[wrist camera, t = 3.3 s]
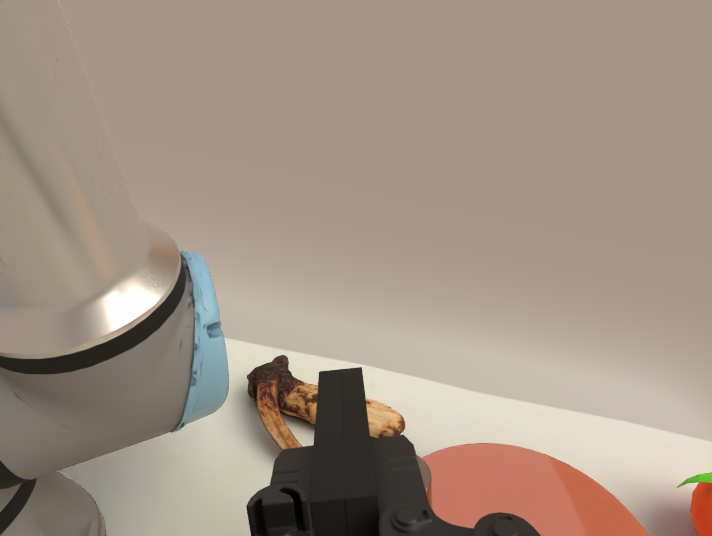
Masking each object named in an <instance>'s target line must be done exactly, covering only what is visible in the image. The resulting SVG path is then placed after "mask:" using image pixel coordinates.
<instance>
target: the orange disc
mask: <svg viewBox="0 0 712 536" xmlns="http://www.w3.org/2000/svg"><path fill="white" fill-rule="evenodd" d="M416 458H417V461H418V464H419V468H420V472H421V475H422V479H423V483H424V486H425V490H426V494H427V497H428V501H429V505H430V507H431V509H432V510H433V511H434V513H435V514H436V515H437V516H438V517H439V518H441V519H442V520H443V521H446V522H448V523H450V524H453V525H457V526H461V527H468V528H474V527H475V524H476V523H477V522H478V520H479V519H480V518H482V517H484V516H486V515H487V514H491V513H498V512H503V513H510V514H514V515H516V516H518V517H521V518H523V519H525V520H526V521H527V522H528V523H529V524H531V525H532V526H533V527H534V528H535V529H536V530H537V532H538V533H539V534H540V535H541V536H649V535H648V534H647V532H646V531H645V529H644V528H643V527H642V526H641V524H640V523H639V522H638V521H637V520H636V519H635V517H634V516H633V515H632V514H631V513H630V511H629V510H628V509H627V508H626V507H625V506H623V505H622V504H621V503H620V502H619V501H618V500H617V499H616V498H615V497H614V496H613V495H612V494H611V493H609V492H608V491H607V490H606V489H605V488H603V487H602V486H601V485H600V484H598V483H597V482H596V481H594V480H593V479H591V478H590V477H588V476H587V475H585V474H584V473H582V472H581V471H579V470H577V469H575V468H573V467H571V466H570V465H568V464H566V463H564V462H562V461H560V460H557V459H555V458H553V457H550V456H548V455H545V454H542V453H539V452H536V451H533V450H530V449H526V448H522V447H517V446H512V445H505V444H494V443H476V444H465V445H459V446H453V447H449V448H446V449H443V450H439V451H436V452H434V453H432V454H429V455H427V456H425V457H423V458H420V457H418V456H416Z"/></svg>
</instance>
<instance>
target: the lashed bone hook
mask: <svg viewBox="0 0 712 536" xmlns="http://www.w3.org/2000/svg"><path fill="white" fill-rule="evenodd" d="M288 364H289V362H288V358H287V357H286V356H285V355H281V356H278V357H276V358H275V359H274V360H273V361H272V362H270V363H267V364H264V365H262V366H259V367H256V368H255V369H254V370H253V371H252V372H251V373H250V374H249V375H247V379H248V380H249V383H248V394H249V396H250V397H251V398H252V399H254V401H255V402H257V406H258V411H259V415H260V418H261V420H262V422H263V425H264V426H265V428H266V430H267V431H268V433H269V434H270V436H271V437H272V439H273V440H274V441H275V442H276V444H277V445H278V446H279V447H280V448H281V449H282V451H283V450H284V449H287V448H296V447H302V446H301V444H300V443H299V442H298V441H297V440H296V438H295V437H294V435H293V434H292V433H291V431H290V430H289V428H288V427H287V425H286V424H285V422H284V420H283V418H282V416H281V414H280V411H279V410H281V411H282V412H284V413H285V414H287V415H292V416H296V417H299V418H302V419H304V420H307V421H310V422H311V423H312V424H315V422H316V408H317V395H318V385H312V384H308V383H305V382H302V381H301V380H298V379H296V378H294V377H293V376H292V374H291V372H290V371H289V370H288ZM365 399H366V398H365ZM366 407H367V415H368V423H369V431H370V436H371V437H375V438H380V437H383V436H386V437H389V436H399V435H400V434H401V433H402V432H403V431H404V429H405V421H404V419H403V417H402V416H401V415H400V414H399V413H398V412H397V411H395V410H392V409H391V407H388V406H386V405H384V404H382V403H379V402H377V401H373V400H370V399H366Z"/></svg>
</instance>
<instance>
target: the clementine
mask: <svg viewBox="0 0 712 536" xmlns="http://www.w3.org/2000/svg"><path fill="white" fill-rule="evenodd" d="M694 482H699V484H698V485H697V487H696V488H695V490H694V491H693V495H692V503H691V516H692V520H693V523H694V526H695V529H696V532H697V534H698V535H699V536H712V472H711V473H705V474H699V475H696V476H694V477H691V478H689V479H687V480H685V481H684V482H683V483H682V484H680V485H679V486H678V487H680V486H682V485H685V484H687V483H694ZM678 487H677V488H678Z"/></svg>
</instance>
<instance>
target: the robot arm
mask: <svg viewBox="0 0 712 536" xmlns="http://www.w3.org/2000/svg"><path fill="white" fill-rule="evenodd" d="M228 389H229V372H228V361H227V353H226V346H225V341H224V336H223V332H222V330H221V321H220V314H219V307H218V302H217V299H216V294H215V290H214V286H213V282H212V278H211V275H210V272H209V269H208V266H207V263H206V261H205V259H204V258H203V256H202V255H200V254H199V253H195V252H190V253H188V252H184V251H182V252H179V249H178V247H177V244H176V243H175V242H174V240H173V239H172V237H171V236H170V235H169V234H168V233H167V232H166V231H164V230H163V229H161V228H160V227H158V226H156V225H154V224H152V223H149V222H146V221H142V220H140V218H139V215H138V212H137V210H136V207H135V204H134V201H133V199H132V196H131V193H130V191H129V188H128V185H127V182H126V180H125V177H124V174H123V172H122V169H121V166H120V164H119V161H118V158H117V155H116V153H115V150H114V147H113V145H112V142H111V139H110V136H109V134H108V131H107V128H106V126H105V123H104V120H103V118H102V115H101V112H100V109H99V107H98V104H97V101H96V98H95V96H94V93H93V90H92V88H91V85H90V82H89V79H88V77H87V74H86V71H85V69H84V66H83V63H82V61H81V58H80V55H79V53H78V50H77V47H76V44H75V42H74V39H73V36H72V34H71V31H70V28H69V25H68V23H67V20H66V17H65V14H64V12H63V9H62V6H61V4H60V1H59V0H0V536H106V529H105V523H104V518H103V516H102V514H101V511H100V510H99V508H98V506H97V504H96V503H95V501H94V499H93V498H92V497H91V495H90V494H89V493H88V492H87V491H86V490H85V489H84V488H82V487H81V486H80V485H78V484H77V483H75V482H74V481H72V480H70V479H69V478H67V477H65V476H64V475H62V474H60V473H59V472H57V471H58V470H61V469H64V468H66V467H69V466H72V465H75V464H78V463H81V462H84V461H87V460H90V459H93V458H96V457H99V456H101V455H104V454H107V453H110V452H113V451H116V450H119V449H122V448H125V447H128V446H131V445H134V444H136V443H139V442H142V441H145V440H148V439H151V438H154V437H157V436H160V435H163V434H166V433H169V432H176V431H179V430H180V429H181V428H183V427H184V426H185V425H186V424H188V423H190V422H193V421H195V420H198V419H200V418H203V417H205V416H207V415H210V414H212V413H214V412H215V411H217V410H218V409H219V408H220V407H221V406H222V405H223V403H224V402H225V400H226V397H227V394H228ZM272 474H273V475H272V477H271V483H270V486H267V487H266V488H264V489H262V490H260V491H258V492H257V493H256V494H255V495H254V496H253V497H251V499H250V501H249V502H248V504H247V506H246V507H247V513H248V519H249V525H250V531H251V536H541V535H540V534H539V533H538V532H537V530H536V529H535V528H534V527H533V526H532V525H531V524H529V523H528V522H527V521H526V520H525V519H523V518H521V517H518V516H516V515H514V514H510V513H503V512H498V513H491V514H487V515H486V516H484V517H482V518H480V519H479V520H478V522H477V523H476V524H475V527H474V528H468V527H461V526H457V525H453V524H450V523H448V522H446V521H443V520H442V519H441V518H439V517H438V516H437V515H436V514H435V513H434V511H433V510H432V509H431V507H430V505H429V501H428V497H427V494H426V490H425V486H424V483H423V479H422V475H421V472H420V468H419V464H418V461H417V458H416V453H415V449H414V446H413V444H412V443H411V442H410V441H409V440H408V439H407V438H406V437H405V436H404V435H399V436H389V437H380V438H370V431H369V423H368V415H367V407H366V399H365V391H364V383H363V375H362V367H360V368H350V369H340V370H331V371H321V372H319V382H318V395H317V408H316V422H315V435H314V446H306V447H296V448H287V449H284V450H283V451H282V452H281V453H280V455H279V456H278V457H277V458H276V460H275V462H274V467H273V472H272Z"/></svg>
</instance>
